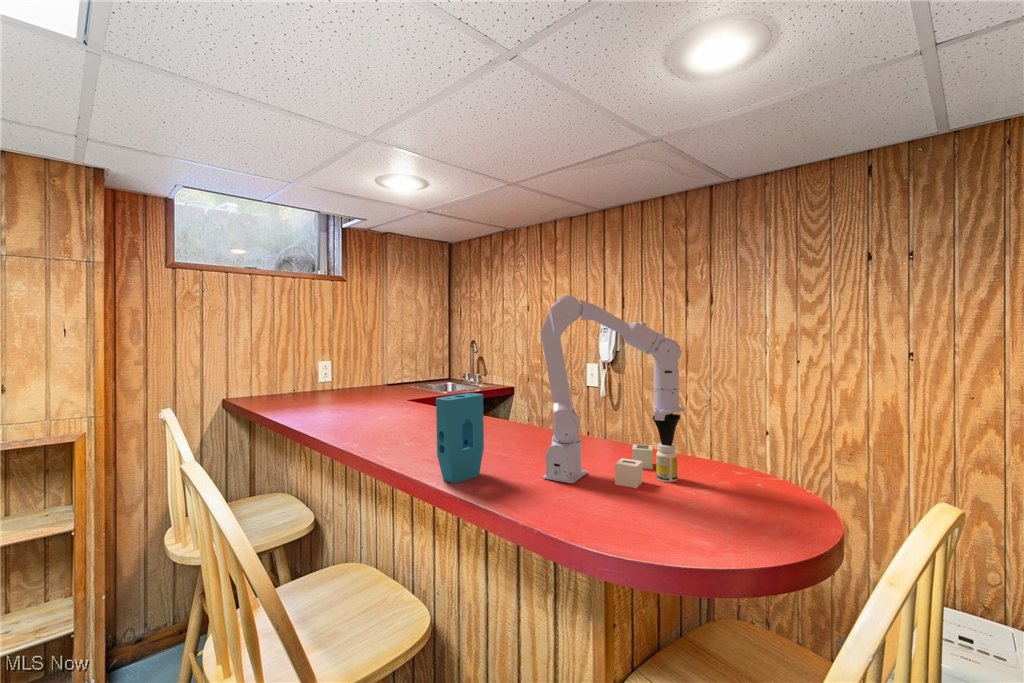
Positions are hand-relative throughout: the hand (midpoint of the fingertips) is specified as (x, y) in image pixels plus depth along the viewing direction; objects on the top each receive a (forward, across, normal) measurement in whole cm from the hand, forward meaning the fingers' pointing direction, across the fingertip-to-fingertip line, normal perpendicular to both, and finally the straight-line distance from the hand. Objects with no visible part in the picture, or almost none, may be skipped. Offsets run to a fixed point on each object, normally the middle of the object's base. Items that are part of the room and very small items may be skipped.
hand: (666, 445), depth 110 cm
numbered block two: (+8, +8, +8) cm, 14 cm away
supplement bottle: (+8, 0, 0) cm, 8 cm away
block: (+8, -23, +44) cm, 50 cm away
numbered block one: (+8, -7, +7) cm, 13 cm away
